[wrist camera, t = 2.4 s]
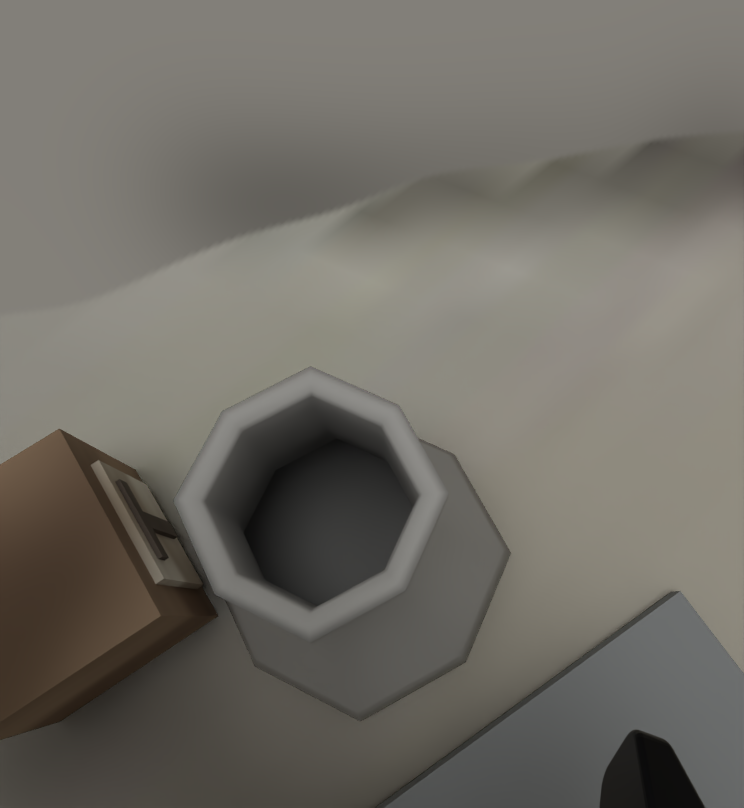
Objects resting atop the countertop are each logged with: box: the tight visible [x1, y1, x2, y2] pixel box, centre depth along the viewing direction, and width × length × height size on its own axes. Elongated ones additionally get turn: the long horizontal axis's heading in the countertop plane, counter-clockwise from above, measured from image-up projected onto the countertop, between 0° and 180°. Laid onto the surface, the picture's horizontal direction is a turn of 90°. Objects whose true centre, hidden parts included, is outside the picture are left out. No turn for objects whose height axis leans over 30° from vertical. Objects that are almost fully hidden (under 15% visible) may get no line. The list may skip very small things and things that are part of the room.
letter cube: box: [0, 429, 218, 740], centre depth 16 cm, size 4×5×4 cm
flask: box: [173, 366, 511, 721], centre depth 13 cm, size 7×7×10 cm
